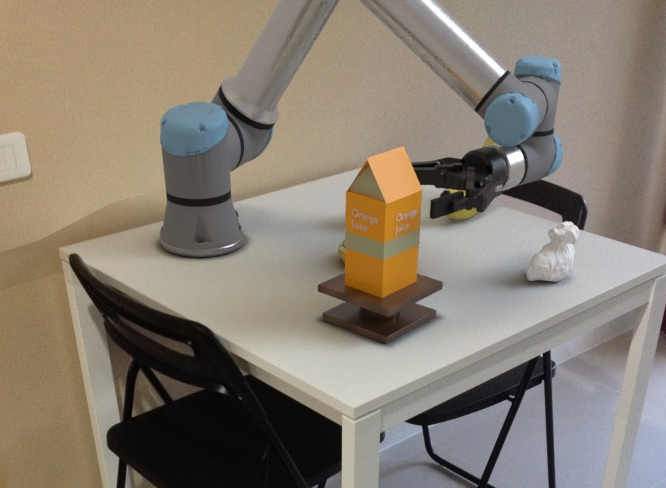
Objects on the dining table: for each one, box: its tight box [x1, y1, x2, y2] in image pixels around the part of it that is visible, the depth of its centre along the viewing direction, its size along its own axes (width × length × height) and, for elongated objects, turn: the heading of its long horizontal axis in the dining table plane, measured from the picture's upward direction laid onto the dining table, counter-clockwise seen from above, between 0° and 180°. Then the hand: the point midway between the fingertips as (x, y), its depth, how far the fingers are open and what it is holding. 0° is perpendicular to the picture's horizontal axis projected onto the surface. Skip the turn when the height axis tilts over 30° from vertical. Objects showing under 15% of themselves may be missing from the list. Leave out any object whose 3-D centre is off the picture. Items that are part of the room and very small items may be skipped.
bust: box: [526, 220, 580, 283], centre depth 168 cm, size 12×8×11 cm
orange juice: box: [344, 145, 423, 298], centre depth 147 cm, size 8×9×20 cm
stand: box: [317, 271, 444, 345], centre depth 154 cm, size 14×14×6 cm
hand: (398, 198), depth 147 cm, fingers open, 13 cm apart
